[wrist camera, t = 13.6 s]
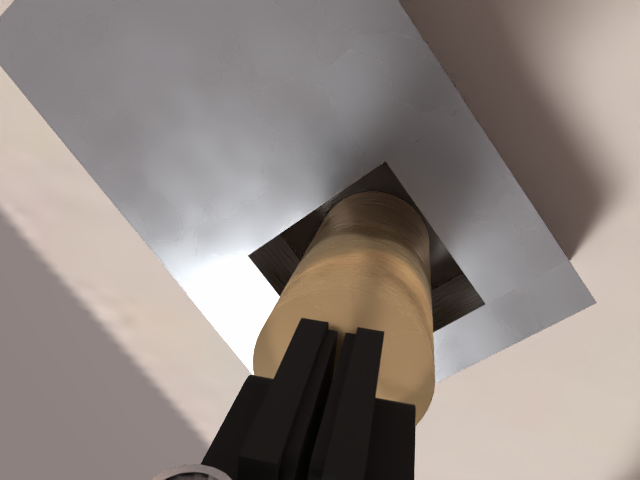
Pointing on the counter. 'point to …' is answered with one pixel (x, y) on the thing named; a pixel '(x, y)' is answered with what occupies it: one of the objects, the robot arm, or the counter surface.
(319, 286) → the tan cylindrical peg
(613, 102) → the counter surface
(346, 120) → the jig plate
